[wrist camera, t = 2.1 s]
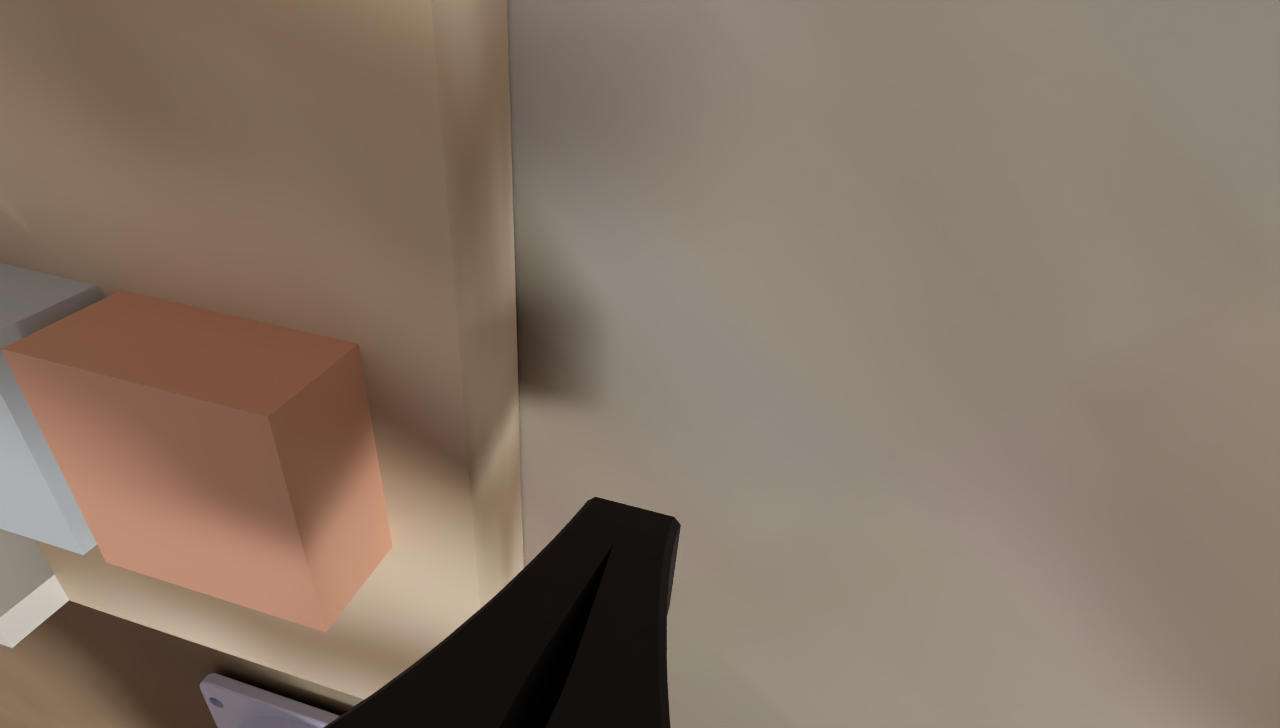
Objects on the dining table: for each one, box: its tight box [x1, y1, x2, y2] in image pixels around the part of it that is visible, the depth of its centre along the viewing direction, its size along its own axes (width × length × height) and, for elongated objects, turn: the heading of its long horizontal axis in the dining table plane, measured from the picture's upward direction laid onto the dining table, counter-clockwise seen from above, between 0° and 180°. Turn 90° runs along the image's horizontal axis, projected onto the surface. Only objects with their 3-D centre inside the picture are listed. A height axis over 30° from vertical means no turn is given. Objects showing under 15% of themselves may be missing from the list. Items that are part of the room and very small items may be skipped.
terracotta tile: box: [2, 290, 393, 632], centre depth 12 cm, size 4×4×2 cm
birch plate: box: [0, 0, 524, 699], centre depth 14 cm, size 16×12×2 cm
